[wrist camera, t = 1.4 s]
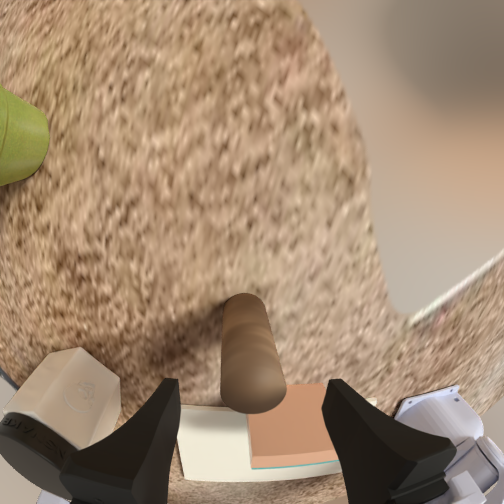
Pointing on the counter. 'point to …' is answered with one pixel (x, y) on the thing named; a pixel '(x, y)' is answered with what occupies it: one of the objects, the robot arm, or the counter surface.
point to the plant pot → (20, 138)
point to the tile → (291, 431)
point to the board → (229, 448)
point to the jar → (58, 416)
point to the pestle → (249, 358)
